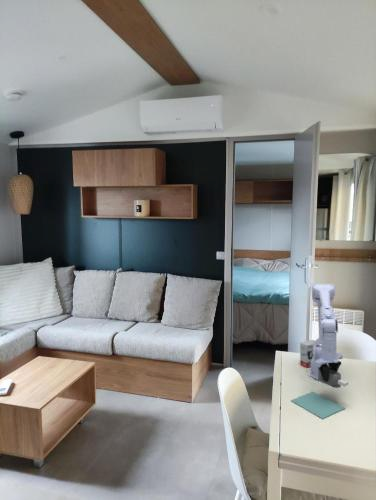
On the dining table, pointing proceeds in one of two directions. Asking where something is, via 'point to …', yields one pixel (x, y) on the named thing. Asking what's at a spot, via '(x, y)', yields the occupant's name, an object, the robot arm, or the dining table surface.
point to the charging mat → (318, 405)
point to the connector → (333, 379)
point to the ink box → (306, 353)
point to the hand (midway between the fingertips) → (329, 379)
